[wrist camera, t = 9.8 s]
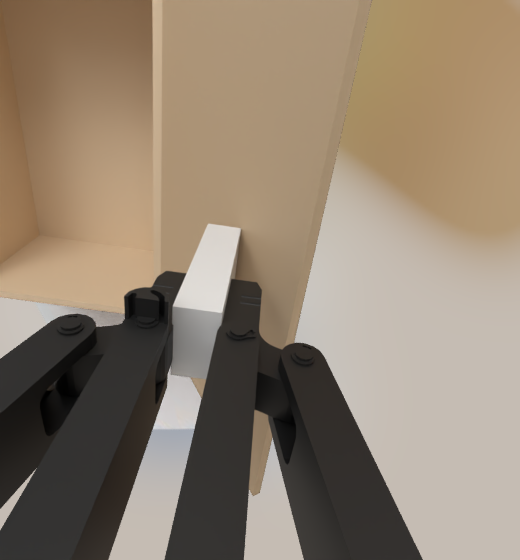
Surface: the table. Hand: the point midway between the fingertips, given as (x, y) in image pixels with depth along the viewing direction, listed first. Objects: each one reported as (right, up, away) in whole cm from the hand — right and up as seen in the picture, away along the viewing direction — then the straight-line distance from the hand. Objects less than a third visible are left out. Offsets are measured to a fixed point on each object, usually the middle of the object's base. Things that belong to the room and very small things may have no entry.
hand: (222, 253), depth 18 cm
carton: (-12, +12, +18) cm, 25 cm away
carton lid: (-1, +2, +2) cm, 3 cm away
